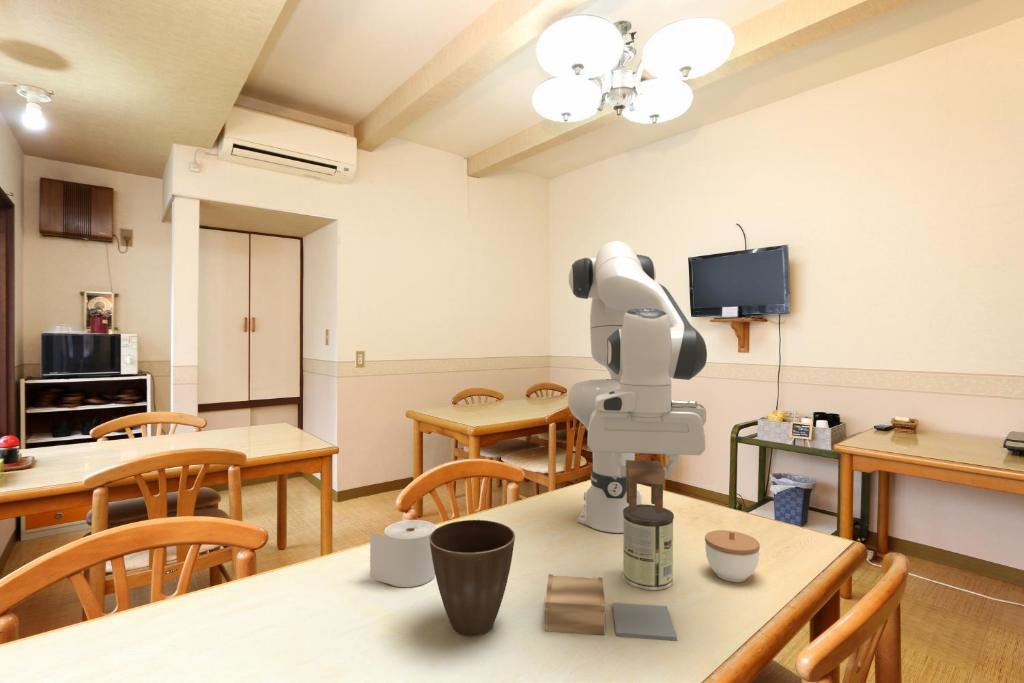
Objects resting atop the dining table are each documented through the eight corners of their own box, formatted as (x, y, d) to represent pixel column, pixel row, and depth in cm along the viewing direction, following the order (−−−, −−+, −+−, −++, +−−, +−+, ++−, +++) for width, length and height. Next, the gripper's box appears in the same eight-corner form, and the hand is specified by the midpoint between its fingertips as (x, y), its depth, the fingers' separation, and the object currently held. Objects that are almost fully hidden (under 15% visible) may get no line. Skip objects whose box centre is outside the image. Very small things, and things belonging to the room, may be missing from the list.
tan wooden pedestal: (548, 600, 101) (548, 574, 101) (602, 604, 100) (602, 577, 100) (545, 631, 91) (545, 601, 90) (605, 635, 89) (605, 606, 89)
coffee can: (628, 564, 117) (628, 501, 117) (676, 573, 113) (677, 508, 112) (617, 584, 108) (617, 516, 107) (669, 595, 103) (669, 524, 103)
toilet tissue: (445, 575, 111) (446, 528, 111) (398, 596, 102) (398, 545, 102) (415, 560, 118) (415, 516, 118) (368, 578, 110) (368, 530, 109)
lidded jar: (765, 590, 106) (765, 544, 105) (708, 584, 108) (709, 539, 108) (752, 566, 116) (752, 524, 116) (701, 562, 118) (701, 520, 118)
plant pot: (482, 661, 82) (482, 560, 82) (410, 632, 90) (411, 539, 90) (529, 618, 95) (530, 530, 94) (463, 595, 103) (464, 514, 102)
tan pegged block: (628, 511, 91) (628, 468, 91) (625, 500, 97) (625, 460, 97) (664, 513, 90) (664, 469, 90) (658, 502, 96) (659, 461, 96)
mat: (612, 605, 99) (612, 602, 99) (666, 609, 98) (666, 606, 98) (616, 636, 89) (616, 632, 89) (677, 640, 88) (677, 637, 88)
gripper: (702, 399, 95) (700, 475, 95) (587, 396, 97) (586, 470, 98) (710, 403, 89) (709, 485, 89) (588, 401, 91) (587, 480, 91)
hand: (644, 477), depth 93 cm, fingers closed on tan pegged block, 6 cm apart
